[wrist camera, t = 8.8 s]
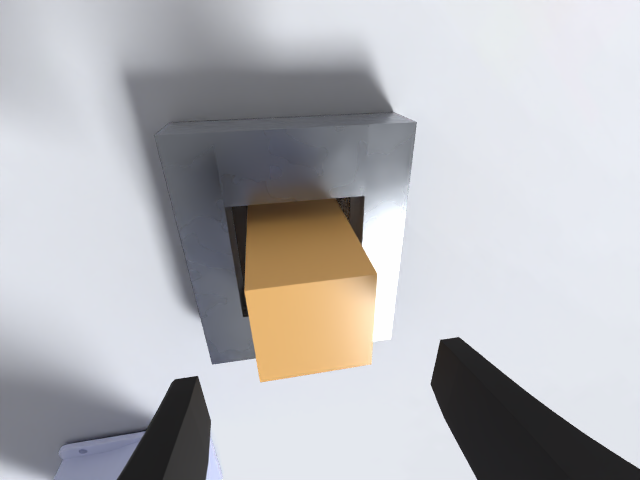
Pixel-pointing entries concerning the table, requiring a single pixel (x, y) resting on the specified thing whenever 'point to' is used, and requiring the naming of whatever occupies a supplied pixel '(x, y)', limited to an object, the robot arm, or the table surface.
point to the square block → (307, 289)
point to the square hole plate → (283, 200)
